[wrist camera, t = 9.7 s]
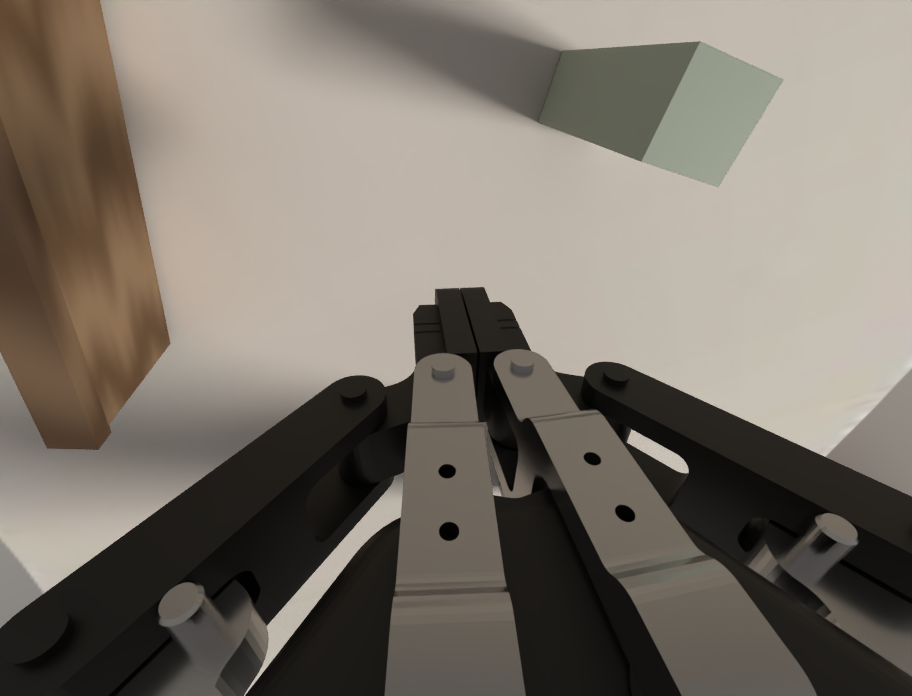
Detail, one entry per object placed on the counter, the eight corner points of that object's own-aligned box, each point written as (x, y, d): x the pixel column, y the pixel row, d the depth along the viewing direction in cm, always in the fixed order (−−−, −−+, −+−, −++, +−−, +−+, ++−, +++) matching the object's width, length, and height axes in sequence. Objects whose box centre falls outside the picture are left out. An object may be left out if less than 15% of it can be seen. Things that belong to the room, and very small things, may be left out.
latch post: (589, 139, 21) (718, 187, 13) (537, 122, 20) (641, 161, 12) (617, 72, 19) (783, 79, 11) (562, 50, 19) (700, 41, 11)
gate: (39, -62, 14) (-252, -168, 8) (99, -45, 15) (-127, -132, 8) (140, 341, 23) (47, 448, 17) (176, 343, 24) (98, 449, 17)
